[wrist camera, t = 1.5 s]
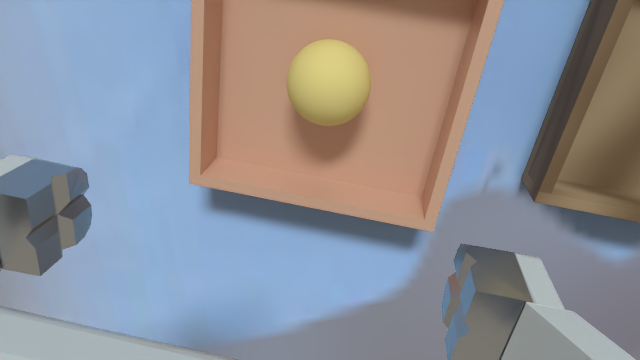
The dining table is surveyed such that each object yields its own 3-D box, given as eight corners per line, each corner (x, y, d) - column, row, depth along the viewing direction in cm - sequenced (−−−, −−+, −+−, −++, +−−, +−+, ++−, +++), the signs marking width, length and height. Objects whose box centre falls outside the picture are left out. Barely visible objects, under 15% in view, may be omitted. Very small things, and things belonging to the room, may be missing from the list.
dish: (209, 161, 27) (189, 183, 25) (217, -94, 21) (192, -101, 19) (429, 204, 26) (433, 232, 24) (503, -49, 20) (519, -50, 18)
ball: (291, 103, 24) (273, 129, 21) (300, 26, 23) (282, 39, 19) (365, 117, 24) (360, 145, 21) (380, 40, 22) (377, 56, 19)
